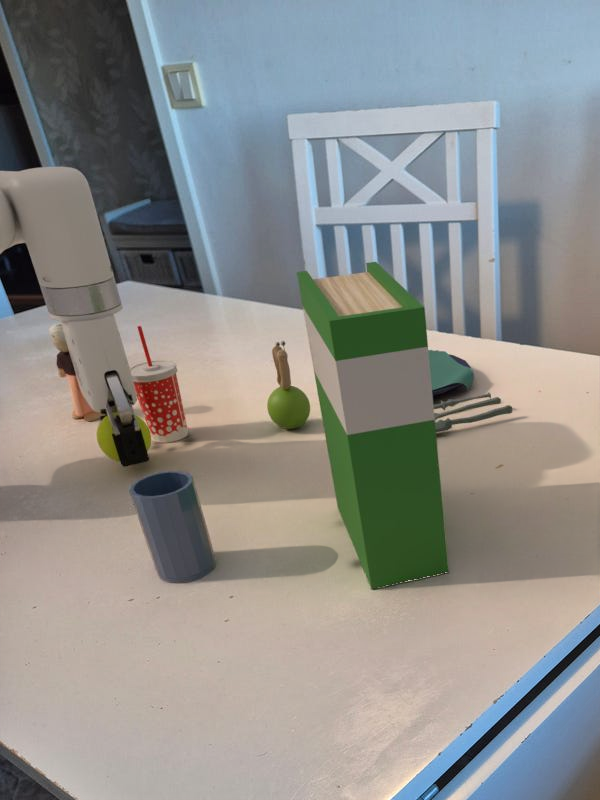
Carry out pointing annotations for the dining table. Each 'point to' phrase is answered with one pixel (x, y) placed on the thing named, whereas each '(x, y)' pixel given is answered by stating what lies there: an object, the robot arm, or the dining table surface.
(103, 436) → the ball
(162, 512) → the cup
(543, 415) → the dining table surface
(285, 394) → the snail figurine
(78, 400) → the grandmother figurine
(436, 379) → the cutlery set
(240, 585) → the dining table surface
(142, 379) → the beverage cup
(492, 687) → the dining table surface
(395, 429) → the hardback book
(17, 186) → the robot arm
